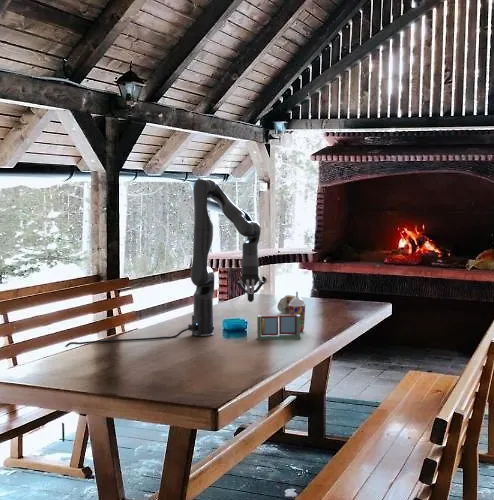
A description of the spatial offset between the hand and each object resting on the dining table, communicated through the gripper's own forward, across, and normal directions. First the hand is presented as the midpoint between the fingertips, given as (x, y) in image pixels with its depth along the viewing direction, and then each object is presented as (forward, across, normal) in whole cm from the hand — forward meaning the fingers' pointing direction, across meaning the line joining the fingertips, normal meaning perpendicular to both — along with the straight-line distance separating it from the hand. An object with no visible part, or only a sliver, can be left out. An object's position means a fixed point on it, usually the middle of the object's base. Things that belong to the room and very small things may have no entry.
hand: (250, 301), depth 339 cm
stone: (+18, -20, -80) cm, 84 cm away
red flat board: (+17, -9, -2) cm, 19 cm away
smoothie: (+19, -22, -20) cm, 35 cm away
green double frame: (+18, -13, -4) cm, 23 cm away
